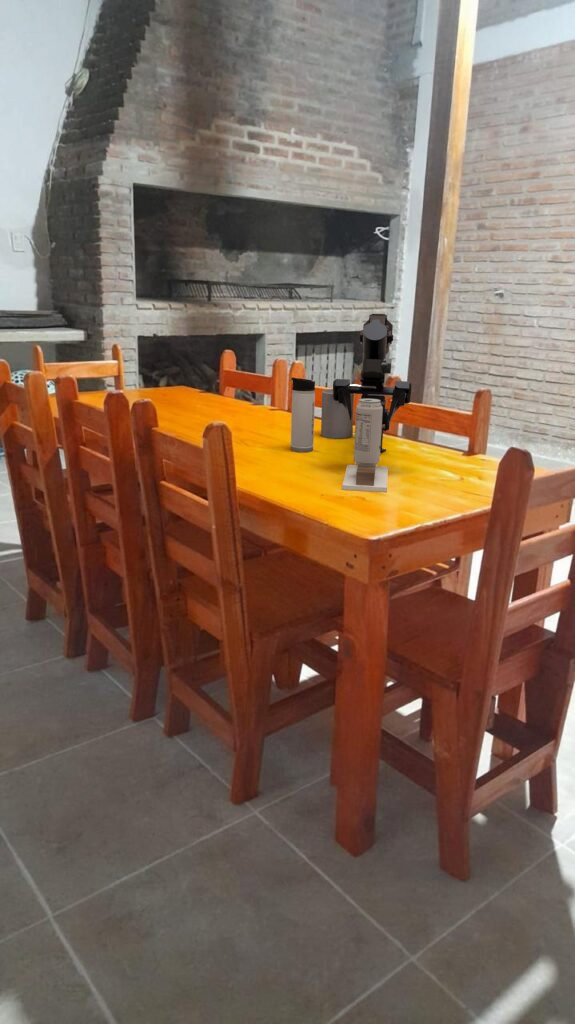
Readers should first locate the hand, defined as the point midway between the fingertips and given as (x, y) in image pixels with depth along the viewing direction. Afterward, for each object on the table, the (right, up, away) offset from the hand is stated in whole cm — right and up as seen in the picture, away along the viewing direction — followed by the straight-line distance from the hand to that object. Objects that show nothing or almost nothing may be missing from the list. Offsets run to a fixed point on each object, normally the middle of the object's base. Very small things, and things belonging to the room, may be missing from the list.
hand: (369, 419), depth 171 cm
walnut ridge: (-1, -14, -1) cm, 14 cm away
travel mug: (-16, -5, +29) cm, 33 cm away
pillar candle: (-5, +1, +49) cm, 49 cm away
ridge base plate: (-1, -14, -1) cm, 14 cm away
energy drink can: (-1, -11, -3) cm, 12 cm away
